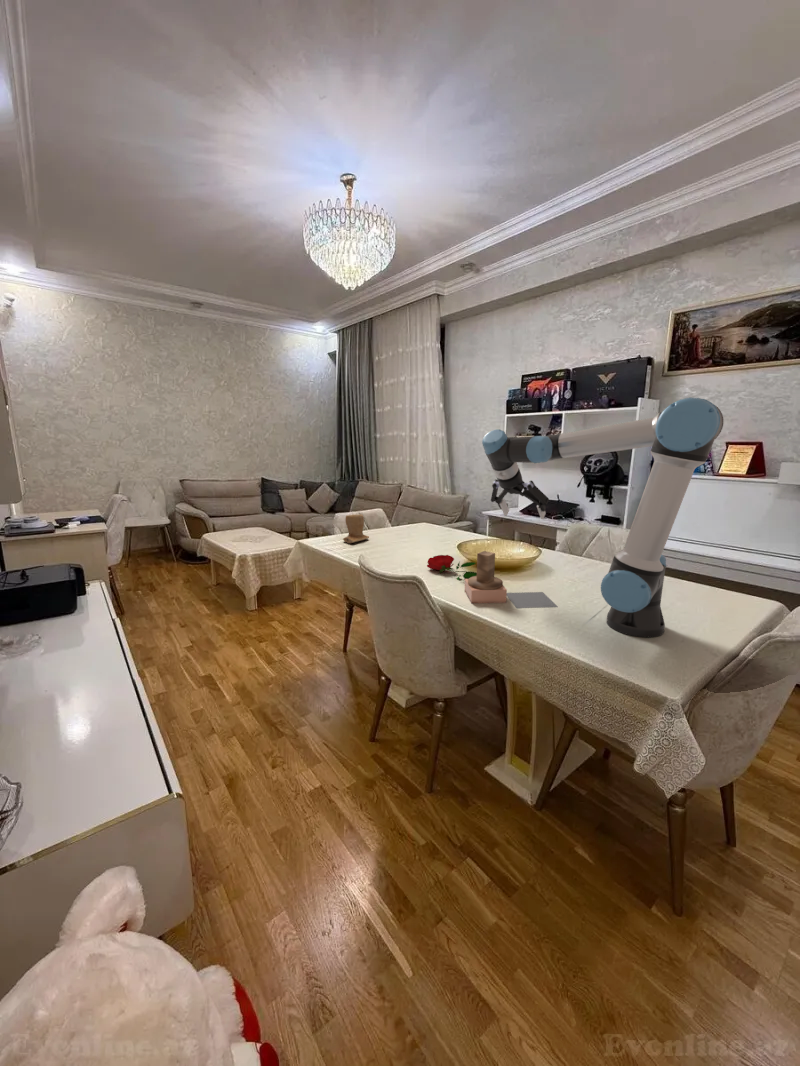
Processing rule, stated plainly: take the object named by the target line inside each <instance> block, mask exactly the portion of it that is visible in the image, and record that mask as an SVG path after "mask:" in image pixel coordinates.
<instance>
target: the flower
mask: <svg viewBox="0 0 800 1066" xmlns="http://www.w3.org/2000/svg"><path fill="white" fill-rule="evenodd" d="M454 560H455V558H454V557H453V556H452V555H450V554H438V555H435V556H432V557H430V558H428V560H427V565H426V567H427V568H428V569H430V570H437V571H439V572H438V573H437V574H442V572H444V571H450V572H455V573H462V574H459V575H458V577H456V580H457V581H459V580H461V579H460V577H463V578H464V580H465V579H469V578H470V577H473V576H477V571H476V572H475V571H471V570H470V571H467V570H464V568H466V567H471V566H474V565H477V562H473V561H468V562H464V563H462V564H461V565H460V563H461V561H459V562H458V563H457V565H456V567H455V568H452V567H453V566H454V563H453V562H454ZM459 568H461V569H462V570H461V571H460V570H458V569H459Z"/></svg>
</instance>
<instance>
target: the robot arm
mask: <svg viewBox="0 0 800 1066" xmlns="http://www.w3.org/2000/svg"><path fill="white" fill-rule="evenodd" d="M723 427H724V415H723V413H722V411H721V409H720V408H719V407H718V406H717V405H715V404H714V403H712V402H711V401H710V400H707V398H706V399H705V398H701V397H686V398H681V399H679V400H677V401H675V402H672V403H671V404H669V405H668V406H667V407H666V408H665V409H663V410H662V411H661V412H658V413H657V415H655V416H654V417H649V418H643V419H637V420H631V421H625V422H620V423H619V422H618V423H615V424H609V425H604V426H598V427H593V428H586V429H580V430H577V431H576V430H575V431H574V430H573V431H569V432H563V433H556V434H551V435H543V436H542V435H534V436H533V435H532V436H517V437H515V436H508V434H506V432H505V431H504V430H501V429H492V430H490V431H488V432H487V433H486V434H485V435H484V436H483V438H482V440H481V442H482V443H481V444H482V447H483V450H484V454H485V455H486V457H487V459H488V461H489V463H490V466H491V468H492V471H493V473H494V475H495V477H496V479H494V480H493V483H492V485H491V486H492V487H491V488H492V493H491V498H490V501H491V502H492V503H494V502H495V503H496V504H497V506H498V507H499V509H501V511H502V513H503V515H504V517H505V516H506V517H507V516H508V514H509V512H510V509H509V507H508V504H507V502H506V499H505V496H506V495H507V494H510V495H513V494H515V495H520V496H521V497H525V498H527V499H528V500H529V501H531V502H532V503H534V504H535V505H536V508H537V512H538V514H539V517H540V519H541V520H544V519H545V516H546V513H547V512H546V509H547V508H546V506H547V505H548V502H549V500H550V498H549V497H547V495H546V494H544V493H543V491H541V489H540V488H539V487H538V486H536V484H535V482H534V481H533V480H529V482H525V481H524V480H523V476H522V473H521V470H520V468H519V465H518V463H523V464H524V463H525V464H526V463H530V464H531V463H534V464H540V463H541V464H542V463H547V462H548V461H554V460H561V459H565V458H566V459H568V458H574V457H582V456H589V455H596V454H597V455H598V454H604V453H610V452H619V451H626V450H634V449H641V448H649V447H651V448H650V454H651V455H652V457H653V464H652V467H651V469H650V472H649V475H648V479H647V481H646V484H645V487H644V490H643V492H642V496H641V498H640V501H639V504H638V506H637V510H636V513H635V515H634V518H633V521H632V524H631V526H630V528H629V529H630V530H629V532H628V535H627V538H626V541H625V544H624V546H623V548H622V549H620V550H618V551H616V552H615V554H614V555H613V558H612V561H611V563H610V567H609V570H608V572H607V574H605V575H604V576H603V578H602V580H601V583H600V592H601V596H602V598H603V600H604V601H605V602H606V604H608V605H609V606H610V609H609V611H608V612H607V615H606V624H607V625H608V626H609V628H611V629H612V630H615V631H617V632H619V633H622V634H625V635H629V636H632V637H639V638H656V637H661V636H662V635H664V633H665V629H666V628H665V626H666V625H665V624H666V623H665V618H664V615H663V610H662V608H661V602H662V595H663V589H664V581H665V572H666V568H667V557H666V556H665V555H663V551H664V549H665V547H666V544H667V542H668V539H669V536H670V534H671V531H672V529H673V526H674V524H675V521H676V519H677V515H678V514H679V511H680V509H681V505H682V503H683V500H684V497H685V496H686V493H687V489H688V487H689V485H690V483H691V480H692V477H693V474H694V472H695V469H696V468H698V467H700V466H702V465H704V464H706V462H707V460H708V457H709V454H710V452H711V449H712V447H713V444H714V442H715V440H716V439H717V438H718V437H719V436H720V434H721V432H722V430H723ZM499 488H502V491H501V493H500V494H499V495H498V492H499ZM497 495H498V496H497Z"/></svg>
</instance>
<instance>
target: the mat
mask: <svg viewBox="0 0 800 1066" xmlns="http://www.w3.org/2000/svg"><path fill="white" fill-rule="evenodd" d="M506 598H508V600H509V601H510V602H511V603H512V605H513V606H514V607H515V608H516V609H535V608H537V609H538V608H539V609H540V608H541V609H542V608H558V607H559V606H558V605H557V604H556V603H555V602H554V601H553V600H552V599H551V598H550V597H549V596H548V595H547V594H545V593H544V592H543V591H534V592H533V591H529V592H523V591H522V592H507V596H506Z"/></svg>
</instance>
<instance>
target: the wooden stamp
mask: <svg viewBox="0 0 800 1066" xmlns="http://www.w3.org/2000/svg"><path fill="white" fill-rule="evenodd" d="M345 524H346V527H347V532H348V535H347V536H346V537H344V538H342V540H343V541H344V542H345V543H346V542H347V544H353V543H359V542H360V541H365V540H367V539H369V538H370V536H368V535H366V534H364V533H363V531H364V526H365V518H364V515H363V514H361V513H360V514H355V513H354V514H347V515H345Z"/></svg>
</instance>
